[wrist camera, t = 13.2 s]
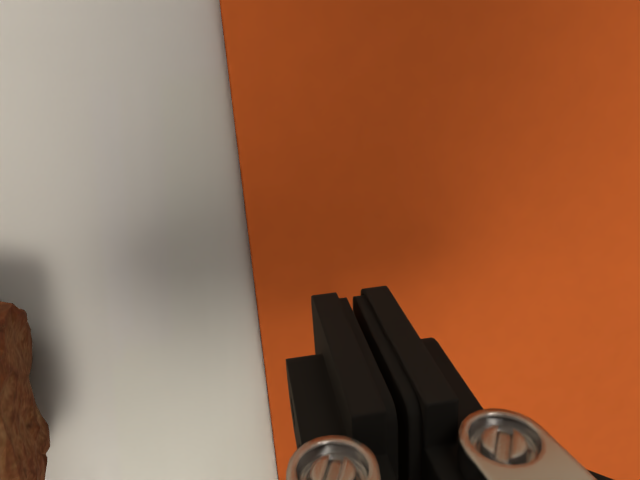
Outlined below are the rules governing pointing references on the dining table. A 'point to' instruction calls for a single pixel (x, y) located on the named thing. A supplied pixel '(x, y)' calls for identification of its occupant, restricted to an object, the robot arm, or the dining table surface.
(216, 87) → the dining table surface
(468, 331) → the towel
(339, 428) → the robot arm
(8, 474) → the bread
